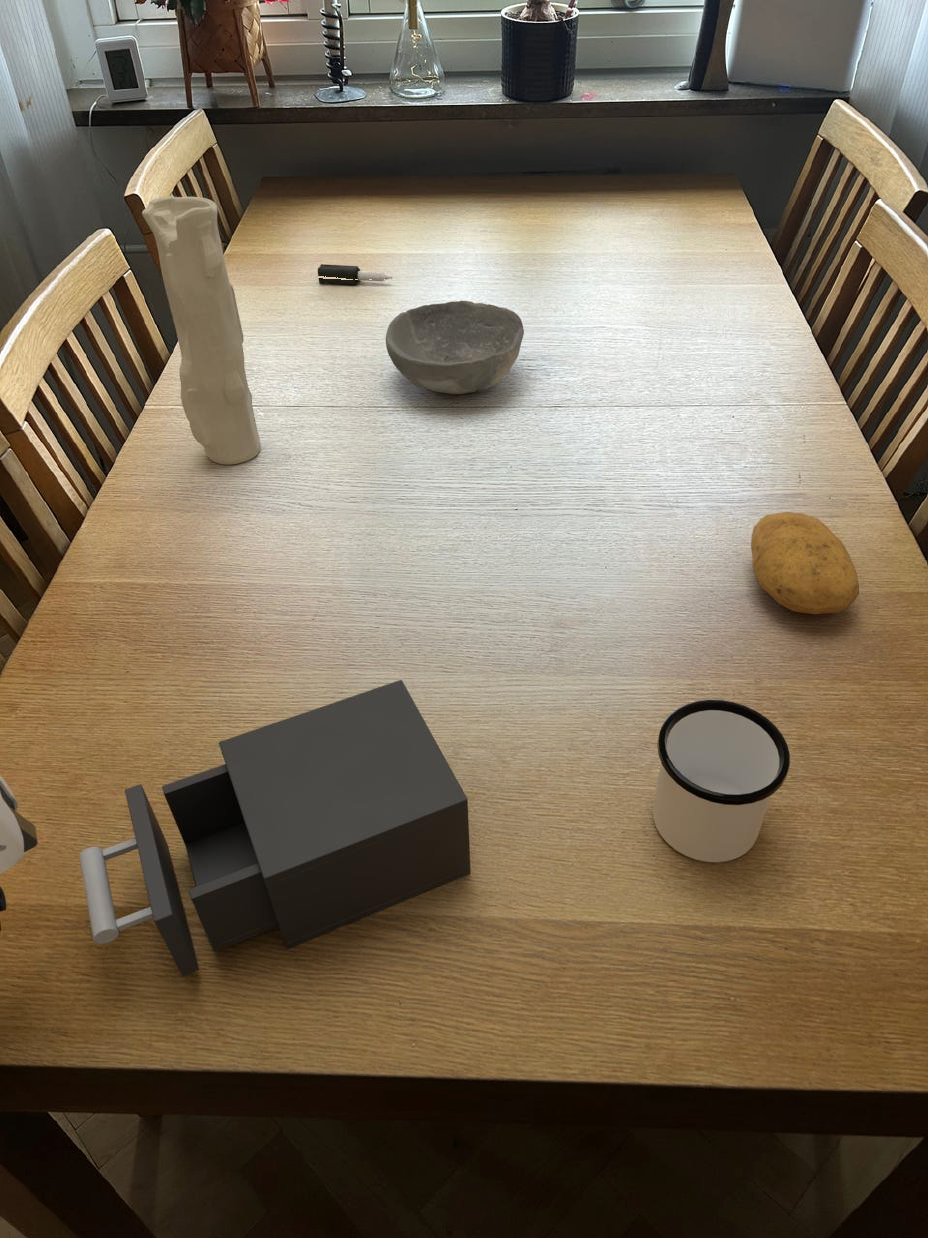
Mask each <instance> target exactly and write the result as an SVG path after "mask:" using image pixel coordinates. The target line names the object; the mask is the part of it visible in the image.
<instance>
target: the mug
mask: <svg viewBox="0 0 928 1238" xmlns="http://www.w3.org/2000/svg"><path fill="white" fill-rule="evenodd" d="M657 754H658V758H659V760H660V765H659V766H660V767H659V771H658V777H657V782H656V786H655V787H656V788H655V792H654V797H653V802H652V811H651V812H652V820H653V822H654V825H655V828H656V830H657V832H658V833H659V835H660V836H661V838H662V839H663V840H664V841H665V842H666V844H668V845H669V846H670V847H671V848H673V850H675V851H676V852H678V853H680V854H681V855H684V856H685V857H688V858H690V859H694V860H696V861H701V862H706V863H723V862H729V861H732V860H736V859H738V858H740V857H741V856H743V855H745V854H746V853H748V851H749V850H751V849H752V848H753V846H754V845H755V843H756V842H757V840H758V837H759V834H760V831H761V829H762V825H763V822H764V819H765V816H766V814H767V810H768V808H769V805H770V801H771V799H772V795H774V794H775V793H776V791H778V790H779V789H780V788H781V787H782V786H783V784H784V782H785V781H786V779H787V776H788V773H789V770H790V766H791V753H790V750H789V746H788V743H787V741H786V739H785V737H784V735H783V734H782V732H781V731H780V730H779V728H778V727H777V726H776V725H775V724H774V723H773V722H772V721H771V720H770V719H769V718H768V717H766V716H764V715H763V714H761V713H760V712H758V711H757V710H755V709H753V708H751V707H749V706H747V705H744V704H741V703H737V702H735V701H729V700H722V699H713V698H711V699H703V700H696V701H693V702H690V703H686V704H684V705H682V706H680V707H678V708H676V709H675V710H674V711H673V712H671V713H670V714H669V715H668V716H667V717H666V719H664V722H663V723H662V725H661V728H660V729H659V733H658V735H657Z"/></svg>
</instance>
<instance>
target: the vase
mask: <svg viewBox="0 0 928 1238" xmlns="http://www.w3.org/2000/svg"><path fill="white" fill-rule="evenodd" d="M141 215H142V217H143V218H144V220H145V222H146V224H147V225H148V227H149V228H150V230H151V232H152V234H153V236H154V239H155V243H156V247H157V251H158V258H159V264H160V270H161V276H162V280H163V285H164V288H165V293H166V297H167V301H168V304H169V308H170V312H171V316H172V321H173V323H174V324H173V325H174V328H175V332H176V337H177V341H178V346H179V350H180V356H181V360H180V366H179V368H178V369H179V381H180V400H181V401H180V402H181V405H182V409H183V411H184V414H185V417H186V419H187V420H188V422H189V428H190V432H191V434H192V436H193V438H194V439H195V441H196V442H197V443H198V444H200V445H201V446H202V447H203V448H204V452H205V454H206V455H207V457H208V458H209V459H210V461H212V462H215V463H216V464H219V465H237V464H241V463H244V462H247V461H249V460H252V459H254V458H255V457H256V456H258V454H259V453H260V451H261V438H260V434H259V430H258V426H257V421H256V416H255V412H254V411H255V410H254V406H253V395H252V391H251V390H250V387H249V383H248V379H247V374H246V367H245V366H246V365H245V353H244V345H243V343H244V340H245V339H244V331H243V328H242V323H241V318H240V314H239V308H238V304H237V299H236V294H235V293H236V292H235V289H234V286H233V284H232V283H231V282H230V279H229V274H228V273H229V272H228V270H227V265H226V264H227V263H226V260H225V255H224V250H223V247H222V246H223V245H222V242H221V241H222V240H221V236H220V232H219V226H218V206H217V204H216V203H215V202H214V201H213V200H212V199H208V198H206V197H199V196H174V195H167V196H160V197H156V198H153V199H151V200H150V201H149V202H148V205H147V206H146V207H145V208H144V209H143V210H142V213H141Z"/></svg>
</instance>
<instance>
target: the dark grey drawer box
mask: <svg viewBox="0 0 928 1238" xmlns="http://www.w3.org/2000/svg"><path fill="white" fill-rule="evenodd" d="M218 745H219V750H220V751H221V754H222V757H223V761H224V764H226V767H227V770H228V773H229V776H230V779H231V782H232V785H233V788H234V791H235V794H236V797H237V800H238V803H239V806H240V809H241V812H242V815H243V818H244V821H245V824H246V827H247V830H248V833H249V836H250V839H251V843H252V846H253V849H254V852H255V855H256V858H257V861H258V864H259V867H260V870H261V873H262V876H263V879H264V882H265V885H266V888H267V891H268V894H269V897H270V900H271V903H272V906H273V909H274V912H275V915H276V919H277V922H278V925H279V926H278V927H279V931H280V933H281V936H282V940H283V943H284V946H285V948H286V950H289V949H292V948H294V947H296V946H299V945H301V944H305V943H307V942H309V941H311V940H314V939H316V938H318V937H320V936H323V935H326V934H328V933H329V932H333V931H336V930H338V929H340V928H342V927H345V926H347V925H349V924H350V925H351V923H354V922H356V921H359V920H361V919H363V918H366V917H368V916H371V915H374V914H377V913H379V912H381V911H384V910H386V909H388V908H390V907H393V906H396V905H397V904H400V903H402V902H405V901H407V900H410V899H413V898H414V897H417V896H420V895H422V894H425V893H428V892H429V891H432V890H434V889H436V888H439V887H441V886H444V885H445V884H448V883H450V882H453V881H455V880H458V879H460V878H463V877H465V876H468V875H470V874H471V873H472V872H471V871H472V870H471V851H470V849H471V848H470V824H469V801H468V800H469V799H468V797H467V795H466V794H465V792H464V790H463V788H462V786H461V784H460V783H459V781H458V779H457V777H456V776H455V773H454V772H453V769H452V767H451V766H450V765H449V763H448V761H447V759H446V757H445V756H444V754H443V752H442V750H441V748H440V746H439V744H438V743H437V741H436V739H435V736H433V734H432V732H431V730H430V729H429V726H428V724H427V722H426V720H425V719H424V717H423V715H422V714H421V712H420V710H419V708H418V707H417V705H416V703H415V701H414V699H413V698H412V696H411V694H410V692H409V690H408V688H407V686H406V684H405V682H404V681H403V679H398V680H396V681H393V682H391V683H387V684H384V685H382V686H379V687H376V688H373V689H370V690H367V691H363V692H361V693H358V694H354V695H353V696H349V697H347V698H343V699H341V700H337V701H334V702H332V703H329V704H326V705H323V706H320V707H317V708H314V709H311V710H309V711H305V712H302V713H299V714H296V715H294V716H291V717H288V718H285V719H282V720H279V721H276V722H273V723H270V724H267V725H265V726H261V727H258V728H256V729H253V730H250V731H247V732H245V733H241V734H238V735H235V736H233V737H230V738H229V737H228V738H226V739H224V740H221V741H218Z"/></svg>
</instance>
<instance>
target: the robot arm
mask: <svg viewBox="0 0 928 1238" xmlns="http://www.w3.org/2000/svg"><path fill="white" fill-rule="evenodd" d="M18 809H19V803H18V801H17V797H16V796H15V793H13V791H12V789H11V787H10V786H9V785H8V783H7V782H6V780H5V779H4V778H3V777H2V775H1V774H0V874H2V873H4V872H7V871H8V870H9V869H11V868H13V867H15V866H16V865H17V864H18V863H19V862H20V861H21V860H22V859H23V858H24V855H25V853H26V852H28V851H30V850H32V849H33V848H35V847H37V845H38V843H39V840H38V835H37V834H38V833H37V827H36V826H35V824H33V823H32V822H31V821H29V820H28V819H27V818H26V817H24V816H23V815H21V814H20V813H19V812H18V811H17V810H18ZM6 910H7V899H6V895H5V892H4V889H3V888H2V887H1V886H0V913H1V912H4V911H6ZM1 931H2V924H1V922H0V932H1Z"/></svg>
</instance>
